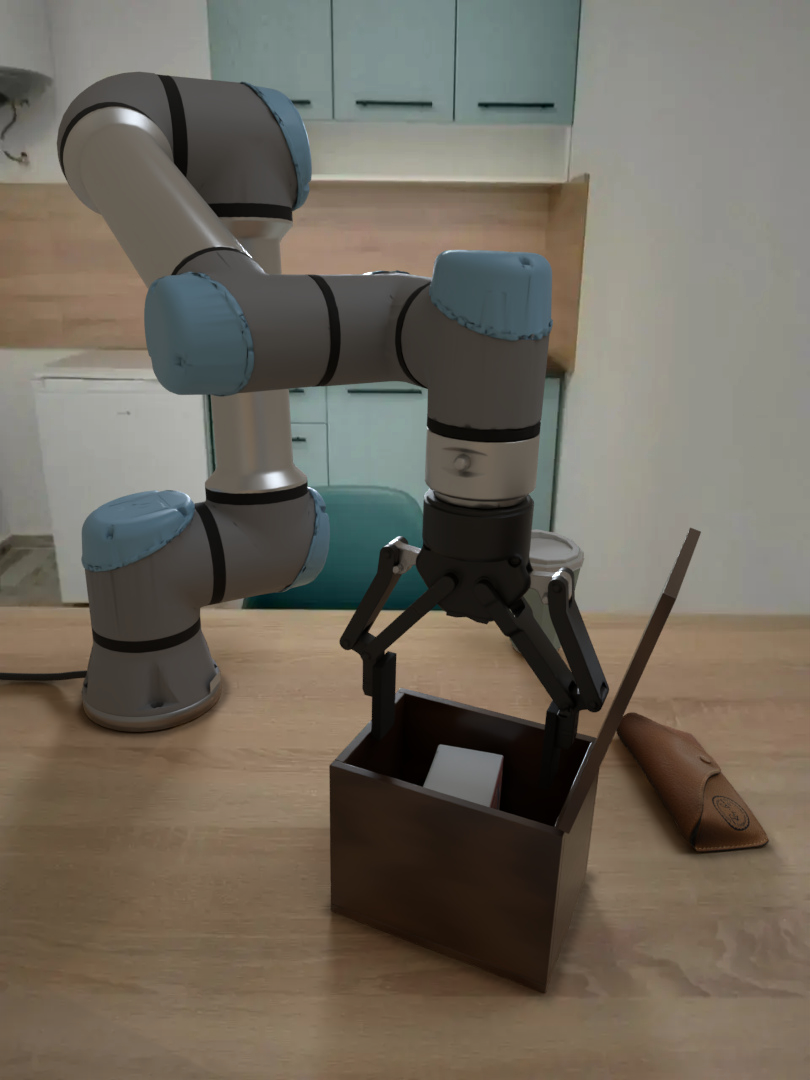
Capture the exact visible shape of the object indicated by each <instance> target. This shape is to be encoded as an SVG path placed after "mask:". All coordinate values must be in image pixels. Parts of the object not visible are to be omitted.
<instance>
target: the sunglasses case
mask: <svg viewBox="0 0 810 1080" xmlns="http://www.w3.org/2000/svg"><path fill="white" fill-rule="evenodd" d="M615 733H616V734H617V737H618V738H619V740H620V741H621V742H622V744H623V746H624V747H625V748H626V750H627V751H628V752H629V754H630V755H631V756H632V758H633V760H634V761H635V762H636V763H637V765H638V766H639V768H640V770H641V771H642V772H643V774H644V775H645V777H646V779H647V780H648V782H649V783H650V785H651V786H652V788H653V789H654V791H655V793H656V794H657V795H658V797H659V799H660V800H661V802H662V803H663V805H664V806H665V808H666V810H667V811H668V813H669V815H670V816H671V818H672V820H673V822H674V823H675V824H676V827H678V829H679V831H680V832H681V835H682V836H683V837H684V839H685V840H686V841H687V842H688V843H689V845H690V846H691V847H692V848H693V849H694V850H695V851H696V852H698V853H706V852H707V853H709V852H710V853H712V852H714V853H715V852H716V853H717V852H731V851H738V850H746V849H753V848H758V847H763V846H766V845H767V844H769V842H770V839H769V837H768V835H767V833H766V831H765V830H764V828H763V826H762V824H761V822H760V821H759V820H758V819H757V817H756V816H755V815H754V813H753V812H752V810H751V809H750V808H749V806H748V805H747V803H746V802H745V800H744V799H743V798H742V797H741V795H740V794H739V793H738V792H737V790H736V789H735V787H734V786H733V784H732V783H731V782H730V781H729V779H728V778H727V777H726V776H725V775H724V773H723V772H722V768H721V767H720V765H719V764H718V763H717V761H716V760H715V759H714V758H713V756H712V755H710V754H709V753H708V752H707V751H706V750H705V749H704V747H703V746H702V744H701V743H700V742H699V741H698V740H697V738H696V736H694V735H693V734H692V733H690V732H687V731H683V730H680V729H677V728H673V727H671V726H668V725H664V724H662V723H659V722H657V721H655V720H653V719H651V718H649V717H647V716H645V715H642V714H640V713H638V712H636V711H635V712H633V711H631V712H627V713H625V714H624V715H623V717H622V719H621V722H620V724H619V726H618V728H617V730H616V732H615Z"/></svg>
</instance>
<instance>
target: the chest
mask: <svg viewBox="0 0 810 1080" xmlns="http://www.w3.org/2000/svg"><path fill="white" fill-rule="evenodd" d="M371 725H372V719H370V720H369V722H368V723H367V724H366V725H365V726H364V727H363V728H362V729H361V730H360V732H358V734H357V735H356V736H355V737H354V738H353V739H352V740H351V741H350V742H349V744H347V746H346V747H345V748H344V749H343V750H342V751H341V752H340V753H339V754H338V755H337V757H335V758H334V760H333V761H332V762H330V764H329V767H328V768H329V774H328V775H329V857H330V858H329V865H330V866H329V869H330V870H329V871H330V872H329V875H330V876H329V877H330V878H329V879H330V880H329V881H330V912H332V913H335V914H338V915H339V916H343V917H345V918H348V919H350V920H352V921H355V922H358V923H361V924H364V925H366V926H368V927H371V928H373V929H377V930H379V931H382V932H384V933H387V934H390V935H392V936H395V937H397V938H400V939H403V940H405V941H407V942H410V943H413V944H415V945H418V946H420V947H424V948H426V949H428V950H431V951H434V952H436V953H439V954H441V955H444V956H447V957H449V958H451V959H455V960H457V961H459V962H462V963H465V964H468V965H470V966H473V967H475V968H477V969H480V970H482V971H486V972H488V973H490V974H493V975H496V976H499V977H501V978H504V979H507V980H509V981H512V982H514V983H517V984H519V985H522V986H525V987H527V988H529V989H532V990H535V991H538V992H540V993H543V994H546V993H547V990H548V988H549V984H550V982H551V978H552V975H553V974H554V971H555V968H556V965H557V962H558V959H559V955H560V953H561V950H562V947H563V945H564V941H565V939H566V936H567V933H568V930H569V927H570V924H571V923H572V922H571V921H572V919H573V916H574V914H575V910H576V907H577V904H578V902H579V898H580V896H581V893H582V890H583V888H584V884H585V882H586V879H587V872H588V864H589V863H588V862H589V855H590V848H591V839H592V831H593V823H594V816H595V807H596V799H597V791H598V784H599V775H600V769H599V770H598V772H597V774H596V776H595V779H594V781H593V783H592V785H591V787H590V790H589V792H588V794H587V796H586V798H585V800H584V803H583V805H582V807H581V809H580V811H579V814H578V816H577V818H576V820H575V822H574V825H573V827H572V829H571V831H570V833H569V834H567V833H566V832H564V831H562V830H560V829H558V827H559V824H560V822H561V820H562V817H563V815H564V813H565V810H566V808H567V806H568V803H569V801H570V799H571V796H572V794H573V792H574V789H575V787H576V785H577V782H578V780H579V778H580V775H581V773H582V771H583V768H584V766H585V764H586V761H587V759H588V757H589V754H590V752H591V750H592V747H593V745H594V743H595V740H596V738H597V736H592V735H588V734H583V733H580V732H577V735H576V738H575V740H574V742H573V744H572V746H571V747H570V749H569V750H565V749H561V750H560V758H559V767H558V772H557V774H556V776H555V778H554V780H553V783H552V785H551V787H550V789H549V791H546V790H543V789H539V788H538V787H539V778H540V768H541V758H542V749H543V739H544V730H545V723H541V722H537V721H533V720H529V719H526V718H521V717H518V716H514V715H509V714H506V713H502V712H498V711H493V710H490V709H486V708H483V707H479V706H475V705H471V704H467V703H464V702H459V701H456V700H452V699H447V698H443V697H439V696H435V695H432V694H428V693H424V692H421V691H416V690H412V689H409V688H404V687H399V689H398V690H397V691H395V723H394V725H393V726H392V727H391V729H390V730H389V731H388V732H387V733H386V735H385V736H384V737H383V738H382V739H381V740H380V741H377V740H374V739H371ZM438 745H447V746H453V747H459V748H465V749H471V750H476V751H482V752H488V753H494V754H498V755H503V756H504V759H503V772H502V785H501V796H500V807H499V810H497V809H493V808H490V807H487V806H484V805H480V804H477V803H474V802H470V801H467V800H464V799H461V798H457V797H454V796H451V795H447V794H444V793H441V792H438V791H434V790H431V789H428V788H424V787H423V786H424V783H425V781H426V778H427V776H428V773H429V770H430V768H431V765H432V763H433V760H434V757H435V754H436V751H437V747H438Z"/></svg>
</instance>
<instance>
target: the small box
mask: <svg viewBox="0 0 810 1080" xmlns="http://www.w3.org/2000/svg"><path fill="white" fill-rule="evenodd" d="M503 759H504V756H503V755H498V754H494V753H488V752H482V751H476V750H471V749H465V748H459V747H453V746H447V745H438V747H437V751H436V754H435V757H434V760H433V763H432V765H431V768H430V770H429V773H428V776H427V778H426V781H425V783H424V786H423V787H424V788H428V789H431V790H434V791H438V792H441V793H444V794H447V795H451V796H454V797H457V798H461V799H464V800H467V801H470V802H474V803H477V804H480V805H484V806H487V807H490V808H493V809H497V810H499V807H500V796H501V785H502V772H503Z"/></svg>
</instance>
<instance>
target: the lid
mask: <svg viewBox="0 0 810 1080" xmlns="http://www.w3.org/2000/svg"><path fill="white" fill-rule="evenodd" d="M701 533H702V531H700V530H699V529H695V528H693V527H689V528H688V531H687V533H686V535H685V537H684V540H683V542H682V544H681V547H680V549H679V551H678V553H677V555H676V557H675V560H674V562H673V565H672V567H671V569H670V571H669V573H668V575H667V577H666V580H665V582H664V584H663V587H662V589H661V592H660V594H659V596H658V599H656V603H655V605H654V607H653V609H652V612H651V614H650V617H649V619H648V621H647V623H646V625H645V627H644V630H643V632H642V634H641V637H640V639H639V640H638V643H637V645H636V648H635V650H634V653H633V655H632V657H631V659H630V661H629V664H628V665H627V668H626V670H625V673H624V675H623V677H622V680H621V682H620V684H619V686H618V688H617V691H616V693H615V695H614V697H613V699H612V702H611V704H610V706H609V709H608V711H607V713H606V715H605V718H604V720H603V721H602V724H601V726H600V728H599V731H598V734H597V735H596V740H595V743H594V745H593V747H592V750H591V752H590V754H589V757H588V759H587V761H586V764H585V766H584V768H583V771H582V773H581V775H580V778H579V780H578V782H577V785H576V787H575V789H574V792H573V794H572V796H571V799H570V801H569V803H568V806H567V808H566V810H565V813H564V815H563V817H562V820H561V822H560V824H559V827H558V829H560V830H562V831H564V832H566V833H567V834H569V833H570V831H571V829H572V827H573V825H574V822H575V820H576V818H577V816H578V814H579V811H580V809H581V807H582V805H583V803H584V800H585V798H586V796H587V794H588V792H589V790H590V787H591V785H592V783H593V781H594V779H595V776H596V774H597V772H598V770H599V771H600V768H601V766H602V763H603V761H604V759H605V756H606V754H607V752H608V750H609V748H610V746H611V744H612V741H613V739H614V737H615V735H616V733H617V732H616V730H617V728H618V726H619V724H620V722H621V719H622V717H623V716H624V715H625V714H626V710H627V708H628V706H629V704H630V702H631V700H632V698H633V695H634V693H635V691H636V688H637V686H638V684H639V682H640V680H641V678H642V675H643V673H644V671H645V669H646V667H647V664H648V663H649V660H650V658H651V656H652V653H653V651H654V649H655V647H656V645H657V642H658V640H659V638H660V636H661V633H662V631H663V629H664V627H665V625H666V623H667V621H668V619H669V616H670V614H671V612H672V609H673V607H674V606H675V603H676V601H677V598H678V596H679V593H680V590H681V587H682V585H683V583H684V580H685V577H686V575H687V571H688V569H689V566H690V564H691V561H692V559H693V556H694V553H695V550H696V547H697V544H698V542H699V539H700V537H701Z"/></svg>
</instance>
